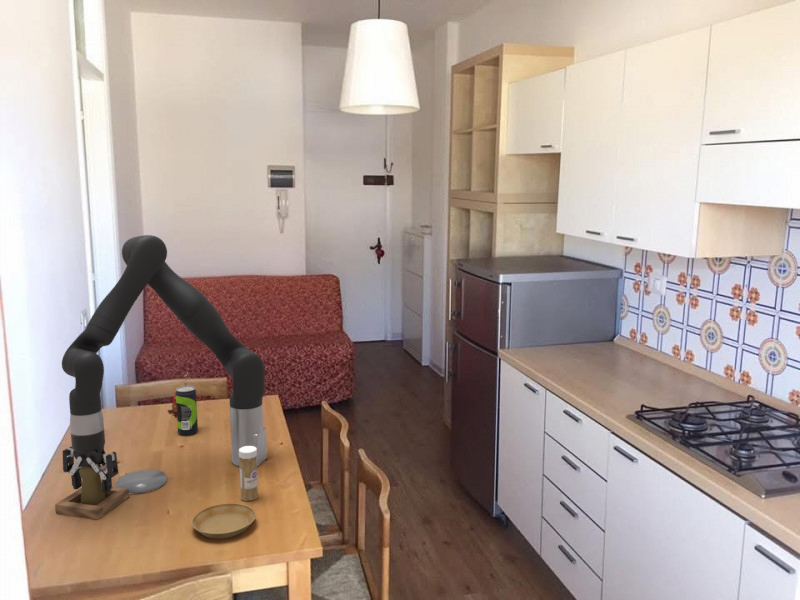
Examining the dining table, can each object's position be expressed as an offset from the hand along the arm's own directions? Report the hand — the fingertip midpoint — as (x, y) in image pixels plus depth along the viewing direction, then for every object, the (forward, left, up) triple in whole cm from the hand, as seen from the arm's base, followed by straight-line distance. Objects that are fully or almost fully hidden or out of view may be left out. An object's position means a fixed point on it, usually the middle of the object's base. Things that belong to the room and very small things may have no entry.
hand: (92, 489), depth 168 cm
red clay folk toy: (+15, -65, -4) cm, 67 cm away
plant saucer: (-37, +1, -5) cm, 37 cm away
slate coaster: (-4, -14, -4) cm, 15 cm away
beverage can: (+4, -50, -4) cm, 50 cm away
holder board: (0, 0, -4) cm, 4 cm away
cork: (0, 0, -4) cm, 4 cm away
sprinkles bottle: (-36, -14, -4) cm, 39 cm away
